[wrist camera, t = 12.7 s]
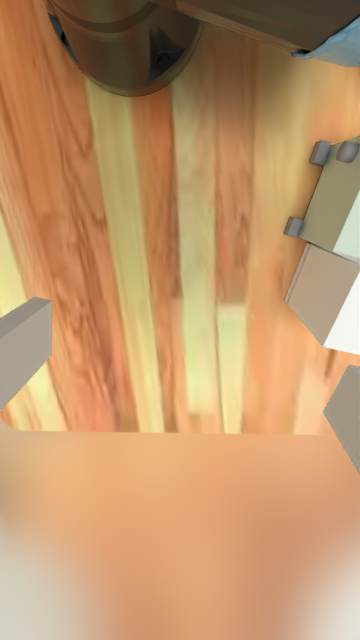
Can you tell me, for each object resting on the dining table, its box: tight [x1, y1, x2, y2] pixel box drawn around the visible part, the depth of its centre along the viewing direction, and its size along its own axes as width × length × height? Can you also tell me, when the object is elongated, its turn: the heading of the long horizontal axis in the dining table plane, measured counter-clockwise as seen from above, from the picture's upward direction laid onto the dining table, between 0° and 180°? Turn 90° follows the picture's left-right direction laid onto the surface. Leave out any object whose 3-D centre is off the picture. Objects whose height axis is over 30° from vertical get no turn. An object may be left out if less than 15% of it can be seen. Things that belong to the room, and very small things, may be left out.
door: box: [297, 136, 360, 258], centre depth 29 cm, size 10×5×10 cm, turn 168°
